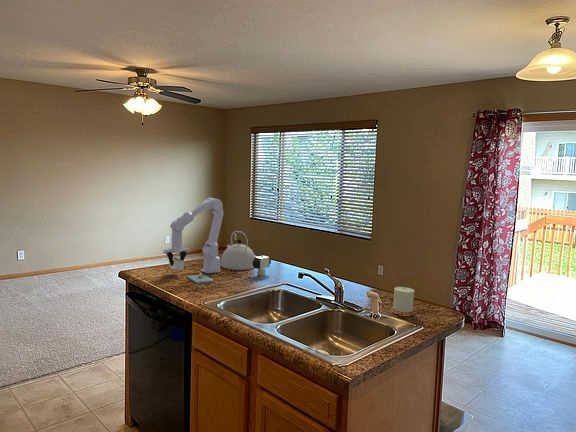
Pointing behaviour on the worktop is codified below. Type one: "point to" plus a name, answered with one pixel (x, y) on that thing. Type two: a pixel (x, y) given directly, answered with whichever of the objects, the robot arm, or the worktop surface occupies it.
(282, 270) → the worktop surface
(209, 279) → the board
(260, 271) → the pneumatic valve
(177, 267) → the block
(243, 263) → the kettle
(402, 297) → the can
